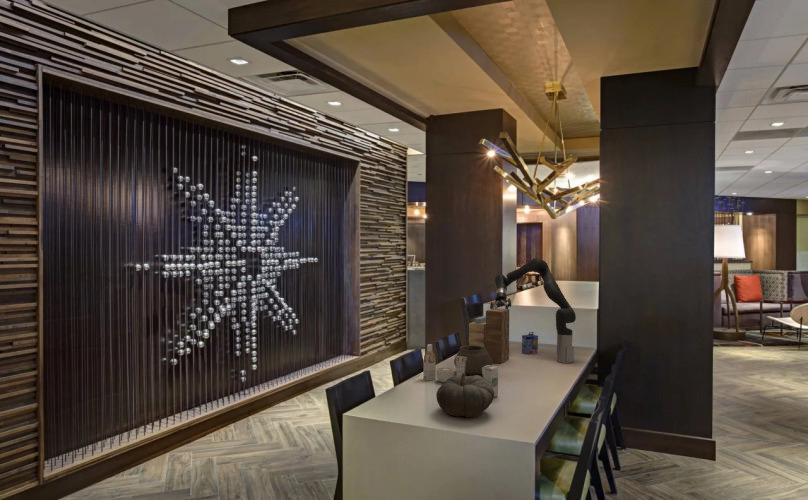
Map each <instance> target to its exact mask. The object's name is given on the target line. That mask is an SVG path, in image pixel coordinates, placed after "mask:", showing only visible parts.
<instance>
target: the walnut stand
mask: <svg viewBox="0 0 808 500" xmlns="http://www.w3.org/2000/svg"><path fill="white" fill-rule="evenodd" d="M485 315H486V350H487V352H488V353H489V355H490V356H491V359H492V364H499V365H502V364H504V363H505V362H507V361H508V360H510V308H508V309H505V308H500V307H498V308H493V309H488V310H486V311H485Z"/></svg>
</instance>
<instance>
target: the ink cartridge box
mask: <svg viewBox="0 0 808 500" xmlns="http://www.w3.org/2000/svg"><path fill="white" fill-rule="evenodd" d="M534 333H535V332H534V331H529V332H528V334H523V335H521V337H522V338H521V354H524V355H532V354H533V355H534V354H535V355H536V354H538V353H539V352H538V350H539V335H537V334H534Z"/></svg>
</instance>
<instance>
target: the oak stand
mask: <svg viewBox="0 0 808 500" xmlns="http://www.w3.org/2000/svg"><path fill="white" fill-rule="evenodd" d="M468 328H469V329H468V345H477V346H482V347H485V348H486V322H484V323H481V324H476V323H475V321H472V322H469V324H468Z"/></svg>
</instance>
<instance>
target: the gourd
mask: <svg viewBox="0 0 808 500" xmlns="http://www.w3.org/2000/svg"><path fill="white" fill-rule="evenodd" d="M494 398H495V397H494V390H493V388H492V386H491V384H490V383H489V382H487V381H486V380H485V379H483V378H482V375H480V374H479V375H469V376H467V375H466V374H465V375H464V373H462V377H461V376H456V375H454V376H453V377H450V378H449V379H447V380H446V381H445V382H444V383H443V382H442V384H441V385H440V387H438V389H437V391H436V401H437V404H438V406H439V408H440V409H441V410H442V411H443V412H444V413H445V414H448V415H449V416H452V417H453V416H454V417H465V418H475V417H477V416H479V415H481V414H482V413H483V412H485V411H486V410H487V409H488V408H489V407H490V405H491V404H492V402H493V400H494Z"/></svg>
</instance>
